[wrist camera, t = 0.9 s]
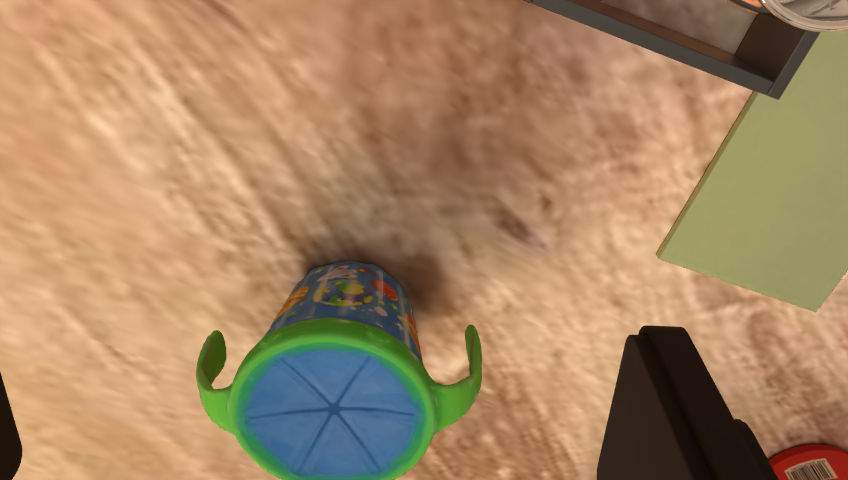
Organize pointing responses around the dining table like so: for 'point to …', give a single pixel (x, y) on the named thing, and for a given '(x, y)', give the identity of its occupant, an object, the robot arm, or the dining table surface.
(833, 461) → the canned food
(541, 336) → the dining table surface
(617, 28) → the basin
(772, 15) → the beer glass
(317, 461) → the snack cup
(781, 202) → the drying mat
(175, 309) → the dining table surface
